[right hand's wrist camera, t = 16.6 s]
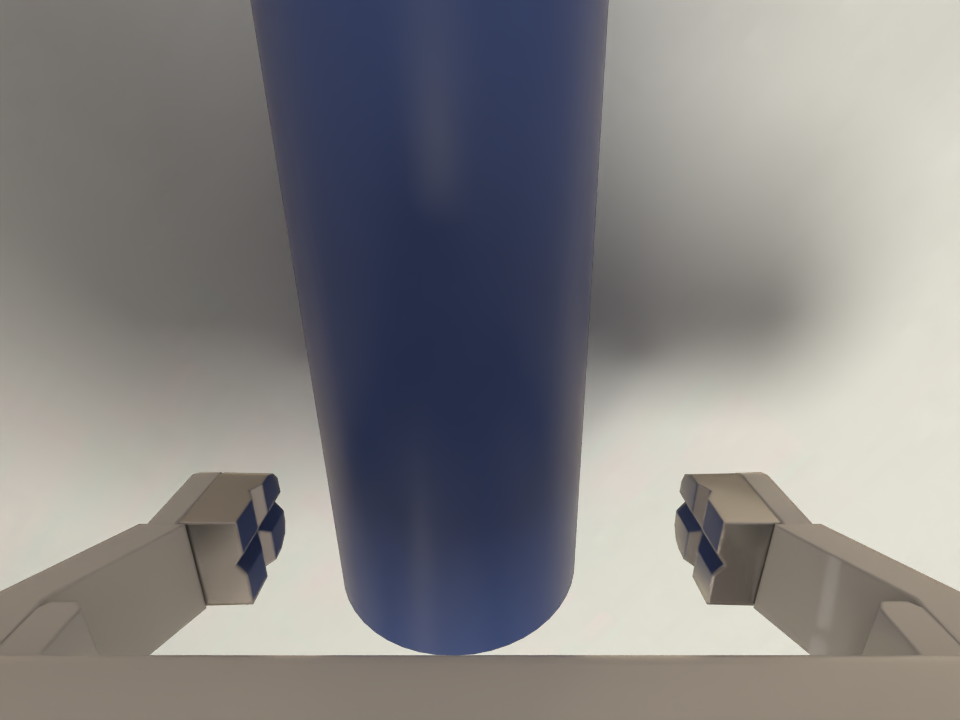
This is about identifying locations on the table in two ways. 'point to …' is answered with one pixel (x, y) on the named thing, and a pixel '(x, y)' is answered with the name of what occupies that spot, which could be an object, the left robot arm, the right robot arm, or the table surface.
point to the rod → (443, 293)
